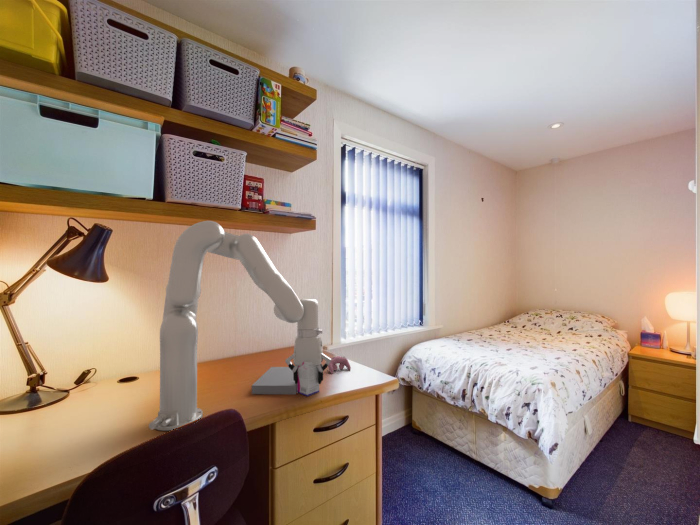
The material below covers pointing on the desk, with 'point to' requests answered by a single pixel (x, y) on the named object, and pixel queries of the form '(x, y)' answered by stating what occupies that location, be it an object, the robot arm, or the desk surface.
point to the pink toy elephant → (342, 361)
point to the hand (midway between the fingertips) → (308, 382)
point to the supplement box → (308, 379)
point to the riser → (276, 382)
